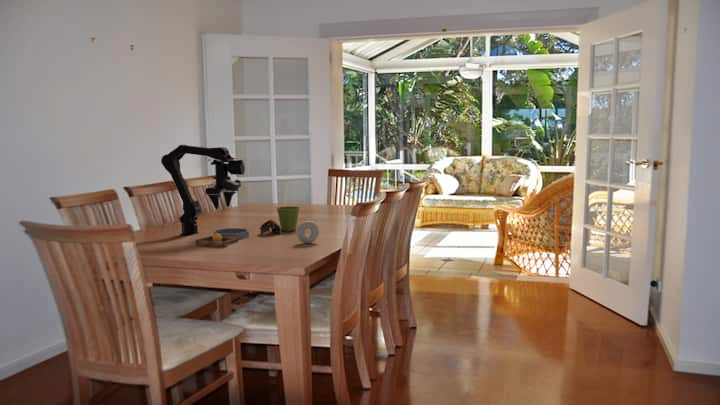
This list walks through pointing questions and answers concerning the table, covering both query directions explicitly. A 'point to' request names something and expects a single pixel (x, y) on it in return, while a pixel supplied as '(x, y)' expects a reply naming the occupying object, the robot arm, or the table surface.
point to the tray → (209, 242)
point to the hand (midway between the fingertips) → (222, 207)
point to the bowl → (233, 233)
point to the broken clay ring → (272, 225)
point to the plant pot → (288, 217)
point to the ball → (217, 238)
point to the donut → (303, 227)
